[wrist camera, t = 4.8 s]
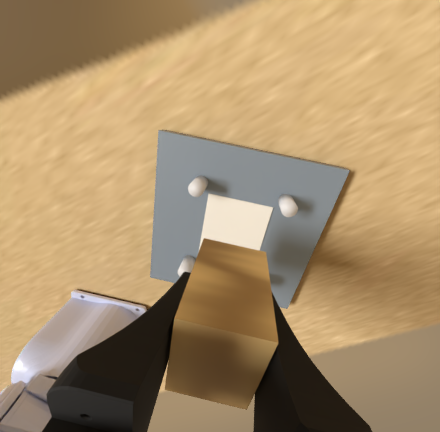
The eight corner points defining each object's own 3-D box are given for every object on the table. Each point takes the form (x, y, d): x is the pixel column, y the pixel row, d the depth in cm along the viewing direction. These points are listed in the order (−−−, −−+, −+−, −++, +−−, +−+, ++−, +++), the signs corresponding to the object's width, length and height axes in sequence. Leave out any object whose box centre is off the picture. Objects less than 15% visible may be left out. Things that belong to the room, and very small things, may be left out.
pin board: (153, 271, 24) (141, 290, 21) (163, 129, 18) (147, 131, 15) (285, 301, 24) (290, 325, 21) (344, 167, 17) (362, 177, 14)
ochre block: (193, 295, 16) (164, 389, 10) (203, 238, 14) (174, 318, 8) (247, 308, 16) (246, 409, 10) (266, 251, 13) (278, 342, 8)
